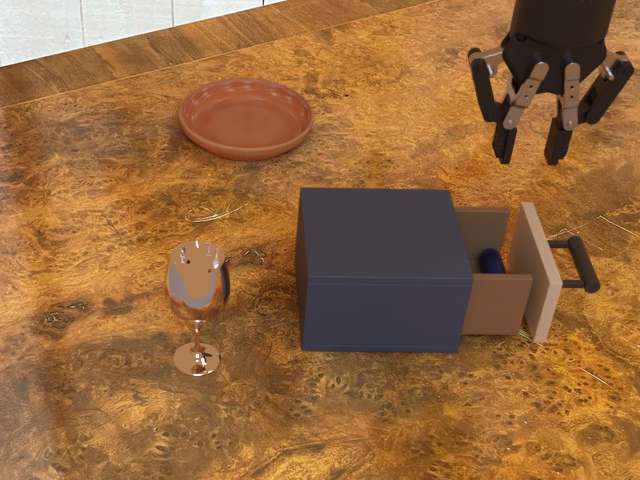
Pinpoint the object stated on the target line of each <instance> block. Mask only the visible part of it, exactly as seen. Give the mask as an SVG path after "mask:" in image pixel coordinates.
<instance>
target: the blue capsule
mask: <svg viewBox="0 0 640 480" xmlns="http://www.w3.org/2000/svg"><path fill="white" fill-rule="evenodd" d="M502 257H503V256H502V255H501V253H499V252H498V251H497V250H495V249H486V250H484V251H483V252H482V253H481V254H480V257H479V263H480V267H481V270H482V274H508V273H507V270H506V266H505V264H504V261H503V258H502Z"/></svg>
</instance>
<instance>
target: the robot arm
mask: <svg viewBox="0 0 640 480" xmlns="http://www.w3.org/2000/svg"><path fill="white" fill-rule="evenodd" d="M616 3H617V0H515V2H514V6H513V11H512V14H511V15H512V16H511V21H510V25H509V30H508V32H507V34H506V35H505V36H504V38H502V40H501V42H500V44H499V46H497V47H494V48H490V49H486V50H483V51H482V50H481V49H480V48H479V47H472V48H470V49H469V50H468V52H467V54H466V56H467V61H468V66H469V69H470V73H471V74H470V75H471V78H472V82H473V87H474V91H475V95H476V101H477V104H478V107H479V111H480V113H481V116H482V119H483V121H484V122H486V123H495V128H494V132H493V137H492V140H491V141H492V142H491V146H492V151H493V154H494V156H495V158H496V159H498V161H499V164H500V165H510V164H511V160H512V156H513V151H514V147H515V142H516V140H517V139H516V138H517V134H518V128H517V125H518V123H519V122H520V120H521V117H522V115H523V114H524V111H525V110H526V109H528V108H529V107H530V105H531V103H532V101H533V99H534V97H535V95H541V94H547V93H549V94H552V95H555V96H556V117H555V116H552V117H551V122H550V126H549V129H548V133H547V137H546V140H545V141H546V142H545V146H544V149H543V155H544V158H545V161H546V164H547V165H548V166H558V164H559V161H560V160H564V158H565V157H566V156H567V154H568V151H569V150H568V149H569V147H570V143H571V140H572V136H573V132H574V130H575V129H576V128H577V127H578V126H579V125H583V124H588V125H590V126H593V125H594V126H595V125H596V124H598V123H599V122H600V120H601V119H602V118H603V116H604V115H605V114H606V112H607V111H608V110H609V108H610V107H611V106H612V104H613V103H614V101H615V100H616V98H618V96H619V95H620V93H621V91H622V90H623V89H624V88H625V86H626V84H627V83H628V82H629V81H630V80H631V77H632V76H633V75H634V74H635V67H634V65H633V63H632V62H631V59H630V57H629V56H628V55H627V53H626V52H625V51H623V50H618V51H615V52H614V51H612V50H609V49H608V48H607V46H606V36H607V35H608V33H609V28H610V24H611V21H612V18H613V13H614V10H615V7H616ZM503 62H504V64H505V65H506V67H507V70H508V71H509V72H510V76H509V78H508V80H507V82H506V86H505V92H504V94H503V96H502V98H501V100H500V101H497V100H495V96H494V92H493V87H492V82H491V79H494V78H495V76H496V75H497V73H498V67H499V66H500V65H501V63H503ZM597 68H598V72H599V74H598V75H597V77H596V78H595V79H594V80H593V82H592V83H591V85H590V86H589V88H588V89H587V91H586V92H585V94H584V95H583V97H582V98H581V99H580V84H581V83H582V82H584V81H585V79H586V78H588V77H589V76H590V75H591V74H592V73H593V72H594V71H595V70H597Z"/></svg>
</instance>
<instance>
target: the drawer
mask: <svg viewBox="0 0 640 480" xmlns="http://www.w3.org/2000/svg"><path fill="white" fill-rule="evenodd" d="M454 209H455V212H456V216H457V220H458V223H459V227H460V231H461V234H462V238H463V242H464V245H465V249H466V253H467V256H468V260H469V264H470V267H471V271H472V275H473V278H474V279H473V284H472V289H471V293H470V298H469V302H468V307H467V311H466V316H465V320H464V325H463V329H462V334H461V335H481V336H482V335H488V336H489V335H491V336H493V335H494V336H499V335H500V336H519V334H520V330H521V326H522V322H523V318H524V317H525V320H526V324H527V327H528V330H529V333H530V336H531V339H532V343H536V344H537V343H538V344H539V343H542V344H543V343H544V344H545V343H546V342H547V340H548V335H549V332H550V330H551V326H552V322H553V318H554V315H555V312H556V309H557V305H558V301H559V298H560V295H561V291H562V289H583V290H584V292H585V293H587V294H595V293H598V292H599V291H600V289H601V286H602V285H601V282H600V280H599V277H598V275H597V272H596V270H595V268H594V266H593V263H592V260H591V258H590V255H589V253H588V250H587V248H586V246H585V243H584V241H583V239H582V237H581V236H579V235H572V236H570V237H569V238H567V239H564V240H563V239H559V240H558V239H547V237H546V233H545V231H544V229H543V225H542V223H541V220H540V217H539V215H538V212H537V209H536V207H535V204H534V202H533V201H521V202H520V205H519V209H518V212H517V213H518V214H517V218H516V222H515V226H514V230H513V234H512V239H511V242H510V246H509V250H508V255H507V257H506V259H507V263H508V267H509V271H510V273H507V274H482V270H481V267H480V263H479V257H480V254H481V253H482V252H483V251H484V250H486V249H495V250H497V251H498V252H499V253H500V254H501V253H502V249H503V244H504V240H505V236H506V231H507V227H508V224H509V219H510V214H511V210H510V208H509V207H507V206H506V207H505V206H504V207H500V206H499V207H498V206H496V207H495V206H454ZM551 249H568V253H569V254H570V257H571V260H572V262H573V264H574V268H575V269H576V272H577V274H578V278H579V279H562V277H561V274H560V271H559V269H558V266H557V263H556V261H555V257H554V255H553V253H552V250H551Z"/></svg>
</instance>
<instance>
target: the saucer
mask: <svg viewBox="0 0 640 480" xmlns="http://www.w3.org/2000/svg"><path fill="white" fill-rule="evenodd" d="M178 119H179V123H180V126H181V129H182V131H183V132H184V133H185V135H186V136H187V137H188V138H189V139H190V140H191V141H192V142H194V143H195V144H196V145H198V146H199V147H200V148H202V149H204V150H205V151H207V152H209V153H211V154H212V155H214V156H215V155H216V156H218V157H221V158H224V159H228V160H233V161H240V162H241V161H243V162H256V161H264V160H268V159H269V160H270V159H272V158H273V159H274V158H276V157H279V156H281V155H283V154H285V153H286V152H289V151H290V150H293V149H294V148H296V147H297V146H298V145H300V144H301V143H303V142H304V141H305V140H306V139H307V137H308V136H309V135H310V134H311V131H312V129H313V126H314V121H315V113H314V109H313V107H312V105H311V103H310V102H309V101H308V99H306V97H304V96H303V95H302V94H301V93H299V92H298V91H297V90H295V89H294V88H291V87H289V86H287V85H285V84H282V83H279V82H276V81H273V80H269V79H264V78H257V77H256V78H255V77H230V78H223V79H217V80H213V81H211V82H208V83H204V84H202V85H200V86H198V87H197V88H195V89H194V90H192V91H191V92H189V93H188V94H186V96H185V97H184V98H183V100H182V101H181V102H180V105H179V108H178Z"/></svg>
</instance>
